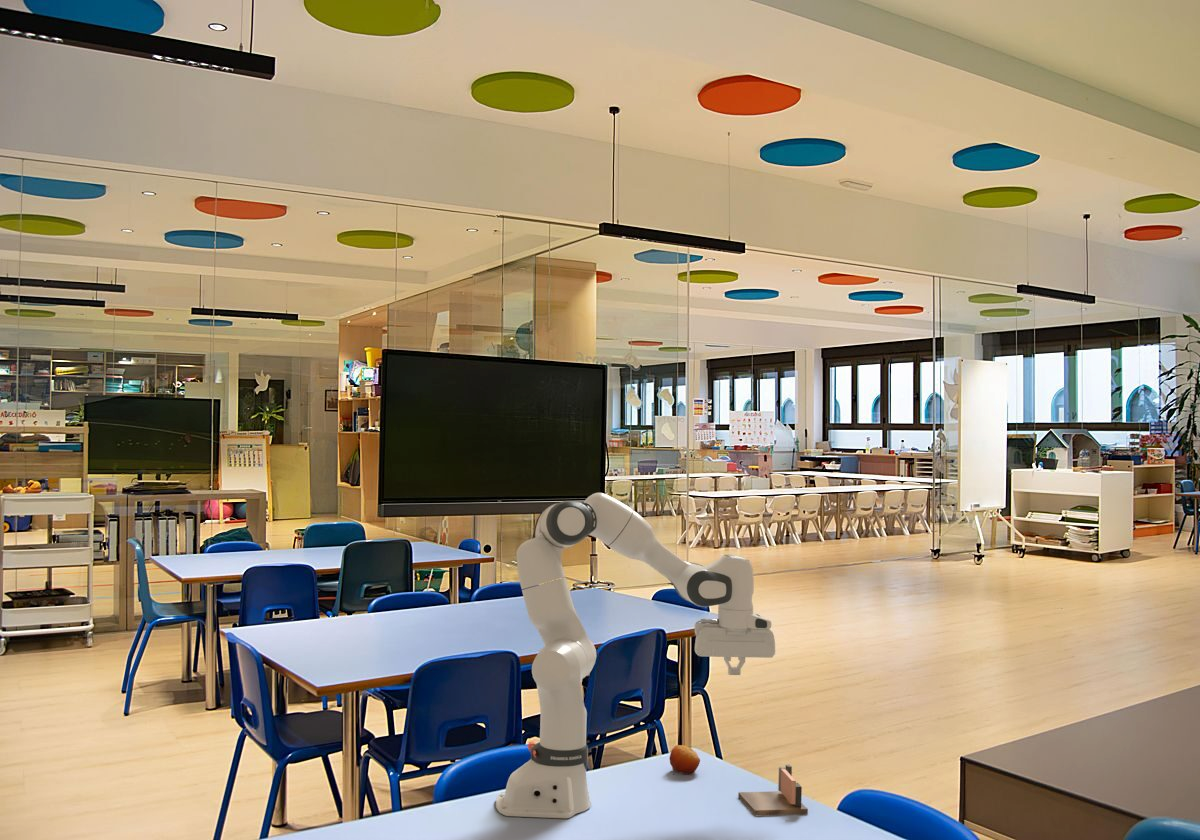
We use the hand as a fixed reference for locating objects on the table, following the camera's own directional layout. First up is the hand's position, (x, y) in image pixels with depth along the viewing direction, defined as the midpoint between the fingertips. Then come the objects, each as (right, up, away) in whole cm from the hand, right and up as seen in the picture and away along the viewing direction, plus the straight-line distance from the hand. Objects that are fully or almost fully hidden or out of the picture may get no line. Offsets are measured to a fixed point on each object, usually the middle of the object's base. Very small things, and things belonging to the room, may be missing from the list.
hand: (734, 674), depth 243 cm
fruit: (-11, -30, +13) cm, 34 cm away
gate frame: (+8, -29, -11) cm, 32 cm away
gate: (+11, -27, -10) cm, 31 cm away
